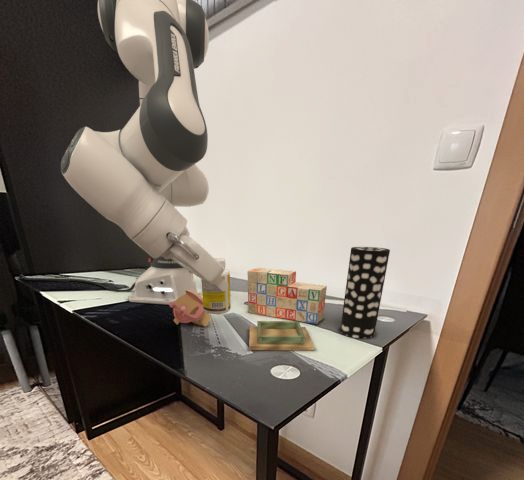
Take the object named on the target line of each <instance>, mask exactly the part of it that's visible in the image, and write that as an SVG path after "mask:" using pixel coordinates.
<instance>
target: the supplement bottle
mask: <svg viewBox="0 0 524 480" xmlns="http://www.w3.org/2000/svg"><path fill="white" fill-rule="evenodd" d="M214 258H215V259H216V260H217V261H218V262H219V263H220V264H221V265H222V267H223V268H224V272H223V273H222V274H221V276H222V278H223V279H224V280H225V281H226V282H227V283H228V284H229V287H228V288H227V289H226V290H225V291H224V292H223V291H221V290H220V289H218V288H217V287H216V286H215V285H214V284H212V285H210V284H208V283H207V282H205V281H204V280H202V279H201V278H200V281H201V283H200V284H201V297H202V298H203V309H204V311H205V312H207V313H209V314H210V315H222V314H226V313H228V312H230V310H231V308H232V305H231V303H232V301H231V273H230V270H229V269H228V268H226V259H225V258H222V257H214Z"/></svg>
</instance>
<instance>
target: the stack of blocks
mask: <svg viewBox="0 0 524 480" xmlns="http://www.w3.org/2000/svg"><path fill="white" fill-rule="evenodd" d="M296 281H297V271H295V270H288V269H287V270H286V269H276V268H265V267H256V268H253V269H249V270H247V312H248V313H249V314H255V315H261V316H266V317H271V318H279V319H285V320H289V321H299V322H302V323H306V324H307V323H308V324H315V325H317V324H318V323H320V322H321V321H322V320H324V317H325V306H326V295H327V285H324V284H316V283H309V282H307V283H306V282H298V281H297V282H296Z"/></svg>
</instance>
